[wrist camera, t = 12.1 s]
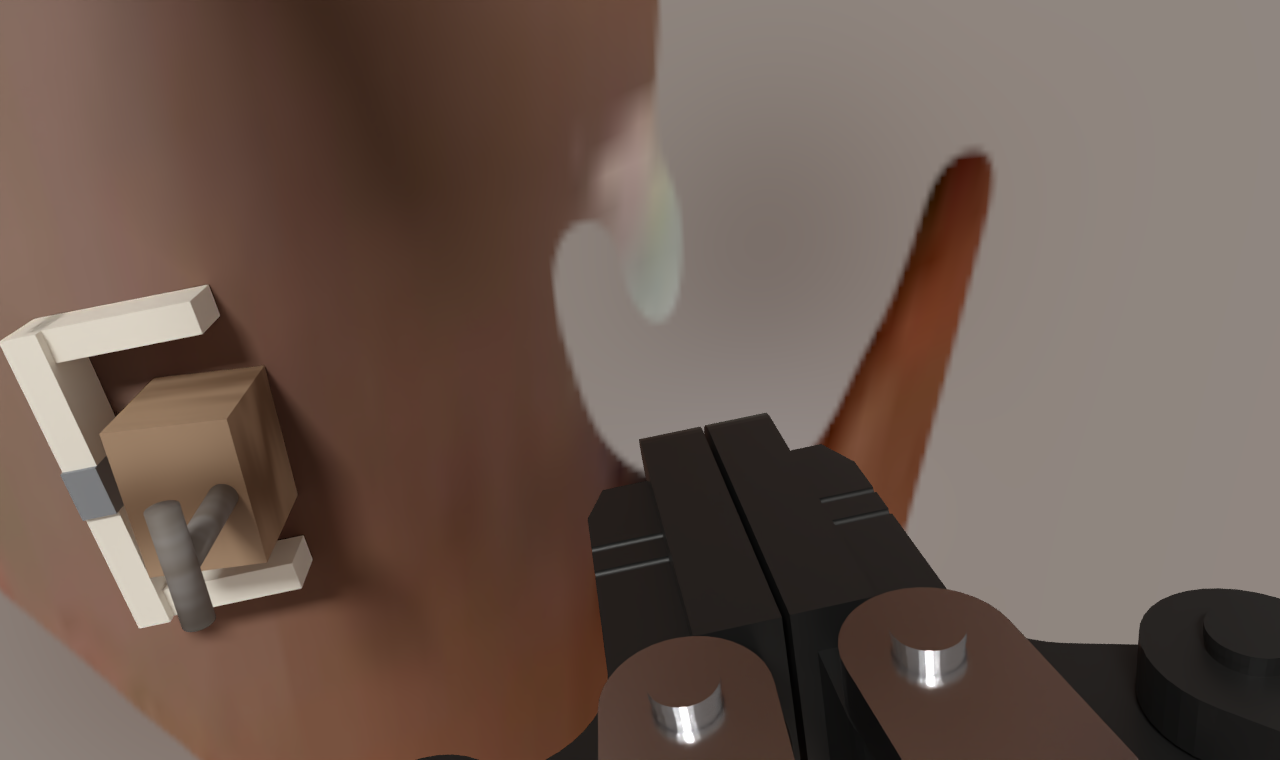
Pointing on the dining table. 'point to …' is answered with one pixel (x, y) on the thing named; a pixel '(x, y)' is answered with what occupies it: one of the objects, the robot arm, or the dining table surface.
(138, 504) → the tan block
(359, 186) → the dining table surface
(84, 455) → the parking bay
